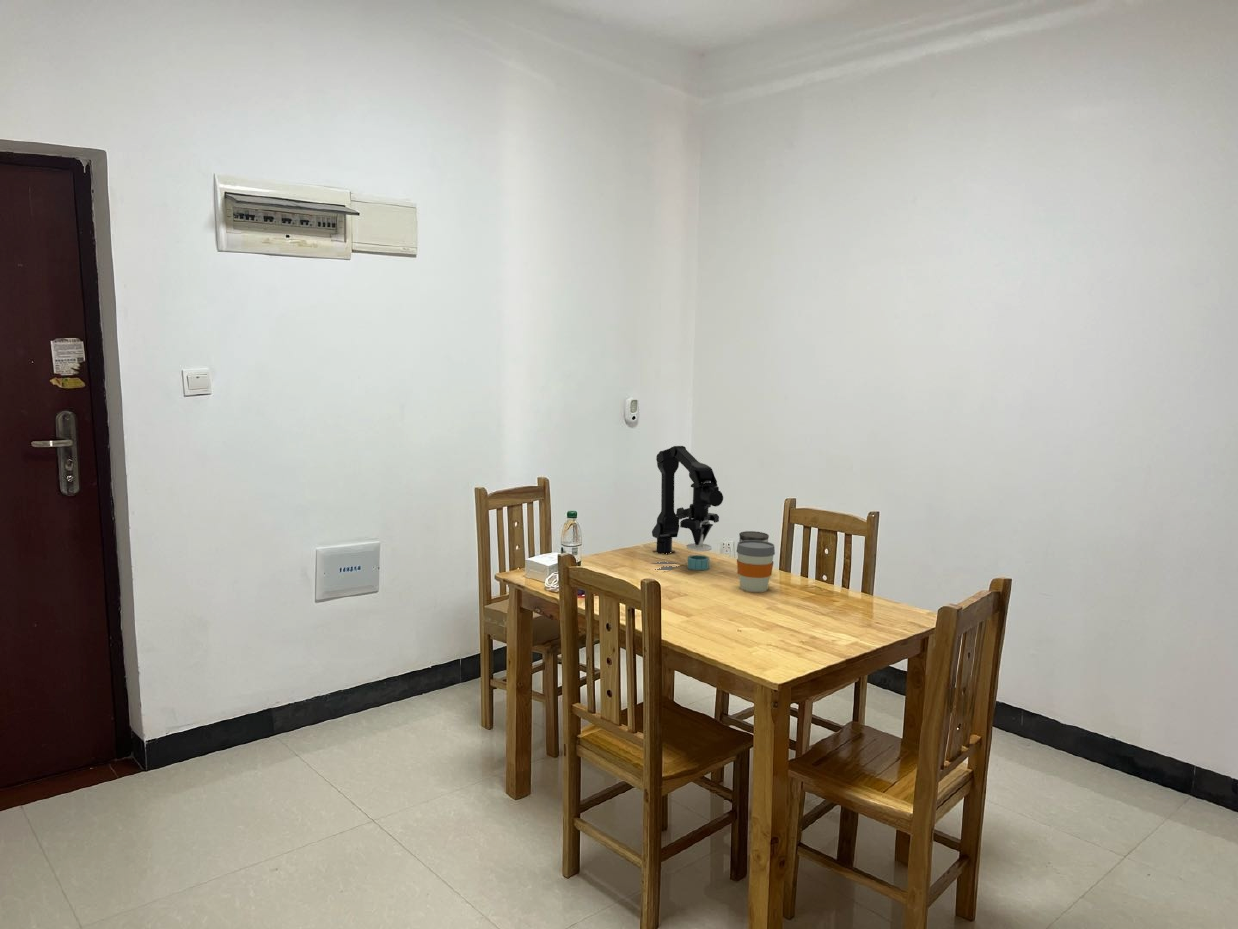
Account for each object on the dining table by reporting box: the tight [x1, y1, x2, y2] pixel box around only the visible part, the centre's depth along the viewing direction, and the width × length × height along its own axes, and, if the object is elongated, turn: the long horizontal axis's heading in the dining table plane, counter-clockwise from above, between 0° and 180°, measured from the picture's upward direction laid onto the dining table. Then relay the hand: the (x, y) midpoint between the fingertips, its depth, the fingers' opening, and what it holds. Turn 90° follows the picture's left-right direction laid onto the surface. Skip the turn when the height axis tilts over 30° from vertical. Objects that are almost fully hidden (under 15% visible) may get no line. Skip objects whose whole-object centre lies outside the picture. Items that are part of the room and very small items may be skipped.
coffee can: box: [738, 530, 770, 542], centre depth 305 cm, size 10×10×14 cm
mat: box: [651, 560, 679, 571], centre depth 310 cm, size 14×10×1 cm
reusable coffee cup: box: [736, 540, 776, 593], centre depth 285 cm, size 13×13×15 cm
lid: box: [686, 534, 712, 552], centre depth 308 cm, size 9×9×5 cm
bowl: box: [686, 554, 710, 571], centre depth 309 cm, size 8×8×4 cm
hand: (698, 544), depth 309 cm, fingers closed on lid, 3 cm apart
